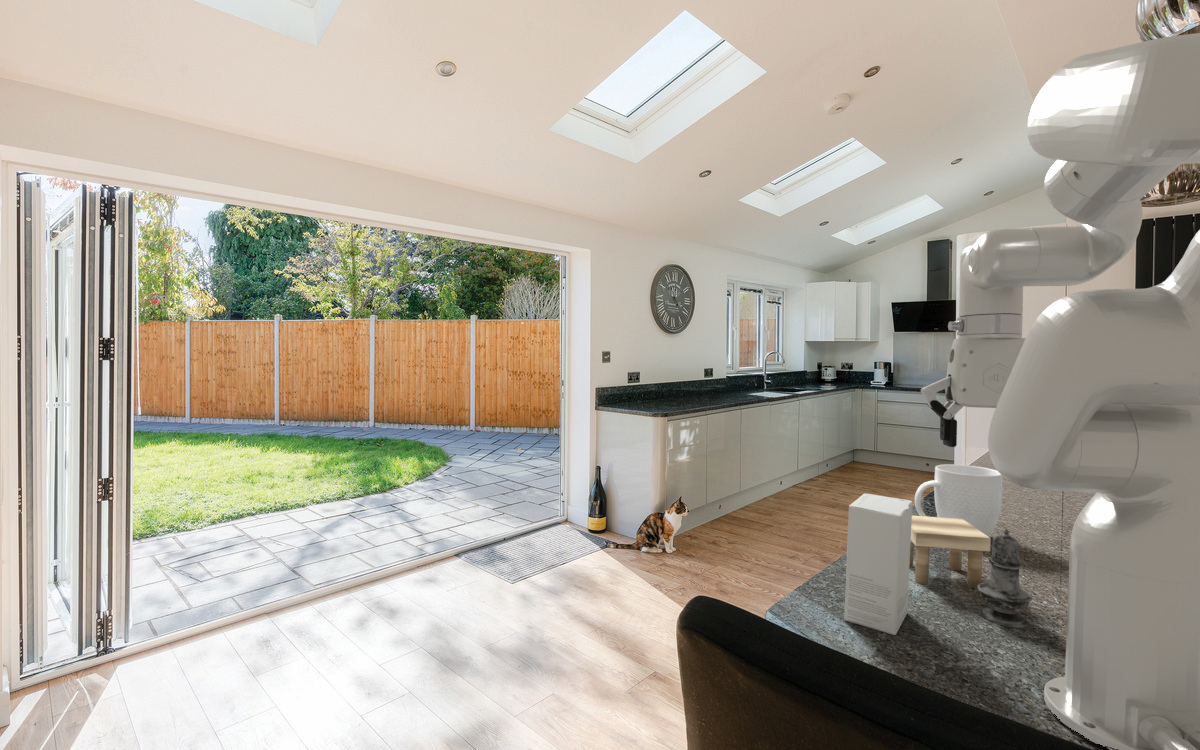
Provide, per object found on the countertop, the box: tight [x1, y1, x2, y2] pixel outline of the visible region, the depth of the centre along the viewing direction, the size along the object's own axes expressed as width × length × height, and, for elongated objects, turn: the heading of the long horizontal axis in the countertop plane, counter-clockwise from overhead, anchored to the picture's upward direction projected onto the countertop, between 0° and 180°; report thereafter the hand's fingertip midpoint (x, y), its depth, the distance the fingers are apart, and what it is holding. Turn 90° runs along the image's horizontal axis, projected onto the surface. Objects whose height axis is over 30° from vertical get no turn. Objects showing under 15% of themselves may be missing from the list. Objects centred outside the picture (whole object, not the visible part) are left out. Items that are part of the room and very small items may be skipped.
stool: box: [909, 515, 992, 590], centre depth 88 cm, size 10×10×8 cm
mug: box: [914, 463, 1004, 537], centre depth 108 cm, size 15×11×13 cm
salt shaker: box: [977, 529, 1033, 629], centre depth 73 cm, size 6×6×12 cm
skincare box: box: [843, 493, 913, 636], centre depth 73 cm, size 8×7×16 cm
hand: (986, 447), depth 80 cm, fingers open, 9 cm apart
